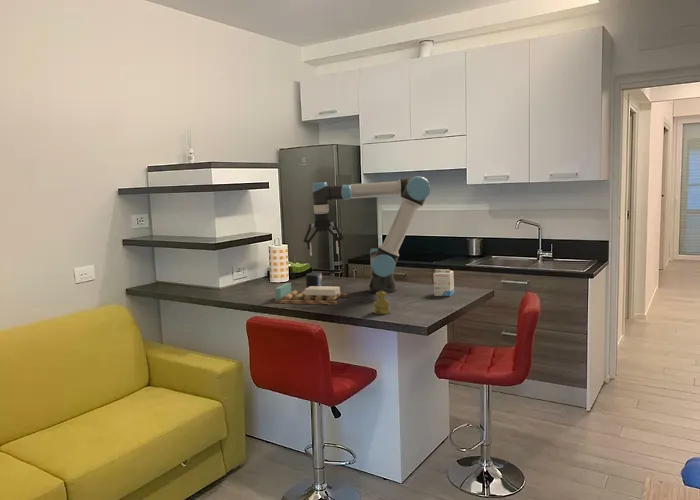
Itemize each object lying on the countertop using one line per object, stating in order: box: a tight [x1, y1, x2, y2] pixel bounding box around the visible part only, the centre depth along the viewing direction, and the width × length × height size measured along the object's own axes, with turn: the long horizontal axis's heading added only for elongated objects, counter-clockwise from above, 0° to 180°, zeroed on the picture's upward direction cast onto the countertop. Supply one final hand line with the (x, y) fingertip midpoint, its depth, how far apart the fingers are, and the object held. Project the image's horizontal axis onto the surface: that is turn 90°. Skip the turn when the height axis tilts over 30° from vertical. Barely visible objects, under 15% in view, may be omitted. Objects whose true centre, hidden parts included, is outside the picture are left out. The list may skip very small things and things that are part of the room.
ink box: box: [432, 268, 455, 297], centre depth 282 cm, size 9×8×13 cm
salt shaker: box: [372, 291, 391, 315], centre depth 250 cm, size 7×8×10 cm
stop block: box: [274, 282, 292, 300], centre depth 287 cm, size 3×14×7 cm, turn 163°
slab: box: [304, 285, 341, 296], centre depth 281 cm, size 16×8×3 cm, turn 73°
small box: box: [305, 271, 323, 288], centre depth 301 cm, size 11×6×10 cm, turn 168°
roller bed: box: [274, 289, 348, 306], centre depth 283 cm, size 32×19×3 cm, turn 73°
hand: (324, 254), depth 283 cm, fingers open, 13 cm apart
